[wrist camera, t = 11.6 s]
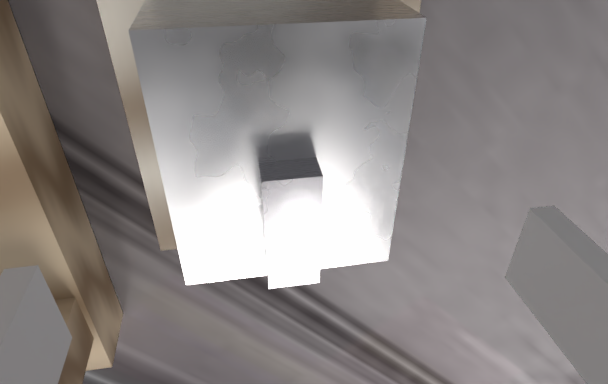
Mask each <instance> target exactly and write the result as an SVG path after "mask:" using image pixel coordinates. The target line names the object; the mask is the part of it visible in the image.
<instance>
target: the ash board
mask: <svg viewBox="0 0 608 384" xmlns="http://www.w3.org/2000/svg"><path fill="white" fill-rule="evenodd" d="M96 1H97V5H98V8H99V12H100V16H101V20H102V24H103V28H104V32H105V36H106V40H107V43H108V47H109V51H110V55H111V59H112V63H113V67H114V71H115V75H116V78H117V82H118V86H119V90H120V94H121V98H122V102H123V106H124V110H125V113H126V117H127V121H128V125H129V129H130V133H131V137H132V141H133V145H134V148H135V152H136V156H137V160H138V164H139V168H140V172H141V176H142V180H143V183H144V187H145V191H146V195H147V199H148V203H149V207H150V211H151V214H152V218H153V222H154V226H155V230H156V234H157V238H158V242H159V246H160V249H161V251H162V250H171V249H178V248H177V244H176V239H175V235H174V230H173V226H172V222H171V217H170V213H169V208H168V204H167V199H166V195H165V191H164V186H163V182H162V177H161V173H160V168H159V164H158V160H157V155H156V151H155V146H154V142H153V137H152V133H151V129H150V124H149V120H148V115H147V111H146V106H145V102H144V98H143V93H142V89H141V84H140V80H139V75H138V71H137V67H136V62H135V58H134V53H133V49H132V45H131V40H130V36H129V31H128V30H129V28H130V27H131V25H132V23H133V21H134V19H135V18H136V16H137V14H138V12H139V10H140V9H141V7H142V5H143V3H144V1H145V0H96ZM400 1H402V2H403V3H405V4H406V5H408V6H409V7H411V8H412V9H414V10H416V11H417V12H420V6H421V0H400Z"/></svg>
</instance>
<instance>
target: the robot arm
mask: <svg viewBox="0 0 608 384" xmlns="http://www.w3.org/2000/svg"><path fill="white" fill-rule="evenodd" d="M505 278H506V279H507V281H508V282H509V283H510V285H511V286H512V287H513V288H514V290H515V291H516V292H517V294H518V295H519V296H520V297H521V299H522V300H523V301H524V303H525V304H526V305H527V307H528V308H529V309H530V310H531V312H532V313H533V314H534V316H535V317H536V318H537V320H538V321H539V322H540V323H541V325H542V326H543V327H544V329H545V330H546V331H547V333H548V334H549V335H550V336H551V338H552V339H553V340H554V342H555V343H556V344H557V346H558V347H559V348H560V349H561V351H562V352H563V353H564V355H565V356H566V357H567V359H568V360H569V361H570V362H571V364H572V365H573V366H574V368H575V369H576V370H577V372H578V373H579V374H580V375H581V377H582V378H583V379H584V381H585V382H586V383H587V384H608V254H607V253H606V252H605V251H604V250H603V249H601V248H600V247H599V246H598V245H597V244H596V243H595V242H594V241H593V240H592V239H590V238H589V237H588V236H587V235H586V234H585V233H584V232H583V231H582V230H580V229H579V228H578V227H577V226H576V225H575V224H574V223H573V222H572V221H571V220H569V219H568V218H567V217H566V216H565V215H564V214H563V213H562V212H561V211H559V210H558V209H557V208H556V207H555V206H546V207H538V208H530V210H529V212H528V215H527V218H526V221H525V223H524V226H523V229H522V232H521V234H520V237H519V240H518V243H517V245H516V248H515V251H514V254H513V256H512V259H511V262H510V265H509V267H508V270H507V273H506V276H505ZM71 340H72V336H71V334H70V331H69V329H68V327H67V325H66V323H65V321H64V319H63V317H62V315H61V312H60V310H59V308H58V306H57V304H56V302H55V300H54V298H53V296H52V293H51V291H50V289H49V287H48V285H47V283H46V281H45V279H44V276H43V274H42V272H41V270H40V268H39V266H38V265H35V266H26V267H17V268H9V269H4V270H3V272H2V273H1V275H0V384H58V382H59V379H60V375H61V372H62V369H63V366H64V363H65V359H66V356H67V353H68V350H69V346H70V343H71Z"/></svg>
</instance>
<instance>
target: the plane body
mask: <svg viewBox="0 0 608 384" xmlns="http://www.w3.org/2000/svg"><path fill="white" fill-rule="evenodd" d="M35 265H38V266H39V268H40V270H41V272H42V274H43V276H44V279H45V281H46V283H47V285H48V287H49V289H50V291H51V293H52V296H53V298H54V300H55V302H56V304H57V306H58V308H59V310H60V312H61V315H62V317H63V319H64V321H65V323H66V325H67V327H68V329H69V331H70V334H71V336H72V340H71V343H70V346H69V350H68V353H67V356H66V359H65V363H64V366H63V369H62V372H61V375H60V379H59V382H58V384H82V383H83V379H84V375H85V371H88V370H95V369H102V368H109V367H112V366H113V361H114V356H115V351H116V346H117V341H118V337H119V332H120V327H121V322H122V317H123V312H122V309H121V307H120V304H119V301H118V298H117V296H116V293H115V290H114V288H113V285H112V282H111V279H110V277H109V274H108V271H107V269H106V266H105V263H104V260H103V258H102V255H101V252H100V250H99V247H98V244H97V241H96V239H95V236H94V233H93V231H92V228H91V225H90V222H89V220H88V217H87V214H86V212H85V209H84V206H83V203H82V201H81V198H80V195H79V193H78V190H77V187H76V184H75V182H74V179H73V176H72V174H71V171H70V168H69V165H68V163H67V160H66V157H65V155H64V152H63V149H62V146H61V144H60V141H59V138H58V136H57V133H56V130H55V127H54V125H53V122H52V119H51V117H50V114H49V111H48V108H47V106H46V103H45V100H44V98H43V95H42V92H41V89H40V87H39V84H38V81H37V79H36V76H35V73H34V70H33V68H32V65H31V62H30V60H29V57H28V54H27V51H26V49H25V46H24V43H23V41H22V38H21V35H20V32H19V30H18V27H17V24H16V22H15V19H14V16H13V13H12V11H11V8H10V5H9V3H8V0H0V275H1V273H2V272H3V270H4V269H9V268H17V267H26V266H35Z"/></svg>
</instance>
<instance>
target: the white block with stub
mask: <svg viewBox="0 0 608 384" xmlns="http://www.w3.org/2000/svg"><path fill="white" fill-rule="evenodd" d="M426 20H427V18H426V17H425V16H423V15H422V14H420V13H419V12H417V11H416V10H414V9H412V8H411V7H409V6H408V5H406V4H405V3H403V2H402V1H400V0H145V1H144V3H143V5H142V7H141V9H140V10H139V12H138V14H137V16H136V18H135V19H134V21H133V23H132V25H131V27H130V28H129V30H128V31H129V36H130V40H131V45H132V49H133V53H134V58H135V62H136V67H137V71H138V75H139V80H140V84H141V89H142V93H143V98H144V102H145V106H146V111H147V115H148V120H149V124H150V129H151V133H152V137H153V142H154V146H155V151H156V155H157V160H158V164H159V168H160V173H161V177H162V182H163V186H164V191H165V195H166V199H167V204H168V208H169V213H170V217H171V222H172V226H173V230H174V235H175V239H176V244H177V248H178V253H179V257H180V261H181V266H182V270H183V275H184V279H185V284H186V285H192V284H201V283H209V282H217V281H225V280H233V279H241V278H250V277H258V276H266V275H267V280H268V288H269V289H273V288H281V287H289V286H297V285H305V284H313V283H320V269H323V268H331V267H340V266H348V265H356V264H364V263H372V262H380V261H388V257H389V250H390V244H391V238H392V232H393V225H394V219H395V213H396V207H397V200H398V194H399V188H400V182H401V176H402V169H403V163H404V157H405V151H406V144H407V138H408V132H409V126H410V119H411V113H412V107H413V101H414V94H415V88H416V82H417V76H418V69H419V63H420V57H421V51H422V44H423V38H424V32H425V26H426Z"/></svg>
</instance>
